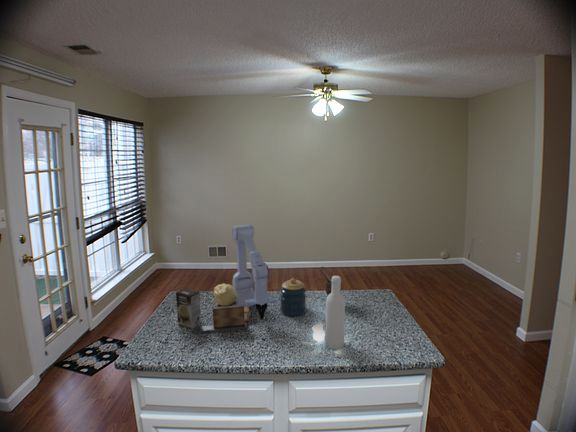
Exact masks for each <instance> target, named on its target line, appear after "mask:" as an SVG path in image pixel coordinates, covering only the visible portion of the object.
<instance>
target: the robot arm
mask: <svg viewBox="0 0 576 432" xmlns="http://www.w3.org/2000/svg"><path fill="white" fill-rule="evenodd" d="M254 235H255V228H254V225H252V223H250V224H245V225H244V224H242V225H234V226H233V227H232V228H231V236H232V241H233V242H235V248H236V249H235V251H236V262H237V263H236V264H237V266H236V267H237V271H236V272H235V273H234V275H233V276H232V283H231V284H232V286H233V289H234V290H235V291H236V300H235V303H233V304H232V306H237V305H244V307H248V308H250V307H253V306H254V305H255V308H256V310H257V312H258V314H259V320H264V317H265V313H266V310H267V309H268V304H277V303H278V298H277V297H268V278H269V277H270V269H269V266H268V264H266V262H264V260H263V256H262V255H261V254H262V253H260V252H259V251H258V250H257V247H256V242H255V241H254V237H255V236H254ZM247 251H248V253H249V254H248V259H249V262H250V265H251V268H252V271H251V272H249V271H248V265H247V264H248V263H247ZM253 287H254V288H253Z"/></svg>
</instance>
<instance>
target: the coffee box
mask: <svg viewBox="0 0 576 432" xmlns="http://www.w3.org/2000/svg"><path fill="white" fill-rule="evenodd" d="M175 296H176V300H175V301H176V310H177V312H176V313H177V324H178V325H181V326H184V327H187V328H190V329H193V327H197V326H198V325H200V324H201V323H202V320H201V318H202V317H201V300H200V299H201V297H200V296H201V295H200V290H195V289H191V288H188V287H184V288H183V289H180V290H178V291H176V292H175ZM196 325H197V326H196Z"/></svg>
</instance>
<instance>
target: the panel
mask: <svg viewBox="0 0 576 432" xmlns="http://www.w3.org/2000/svg"><path fill="white" fill-rule="evenodd" d="M245 322H246V321H244V305H237V306H233V305H228V306H215V307H214V306H212V323H213V327H224V326H235V325H245Z"/></svg>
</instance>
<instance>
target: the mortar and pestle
mask: <svg viewBox="0 0 576 432" xmlns="http://www.w3.org/2000/svg"><path fill="white" fill-rule="evenodd" d="M319 271H320V274H322V276H324V278H325V279H324V280H325V281H324V283H325V293H326V295H327V296H328V295H329V294H330V293H331V291H332V281H331V280H332V277H330V276H329V274H328V272H327V270H326V268H325V267H324V266H321V267H320V268H319ZM342 283H343V282H342V280H341V289H340V293H341V294H342V286H343V285H342Z"/></svg>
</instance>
